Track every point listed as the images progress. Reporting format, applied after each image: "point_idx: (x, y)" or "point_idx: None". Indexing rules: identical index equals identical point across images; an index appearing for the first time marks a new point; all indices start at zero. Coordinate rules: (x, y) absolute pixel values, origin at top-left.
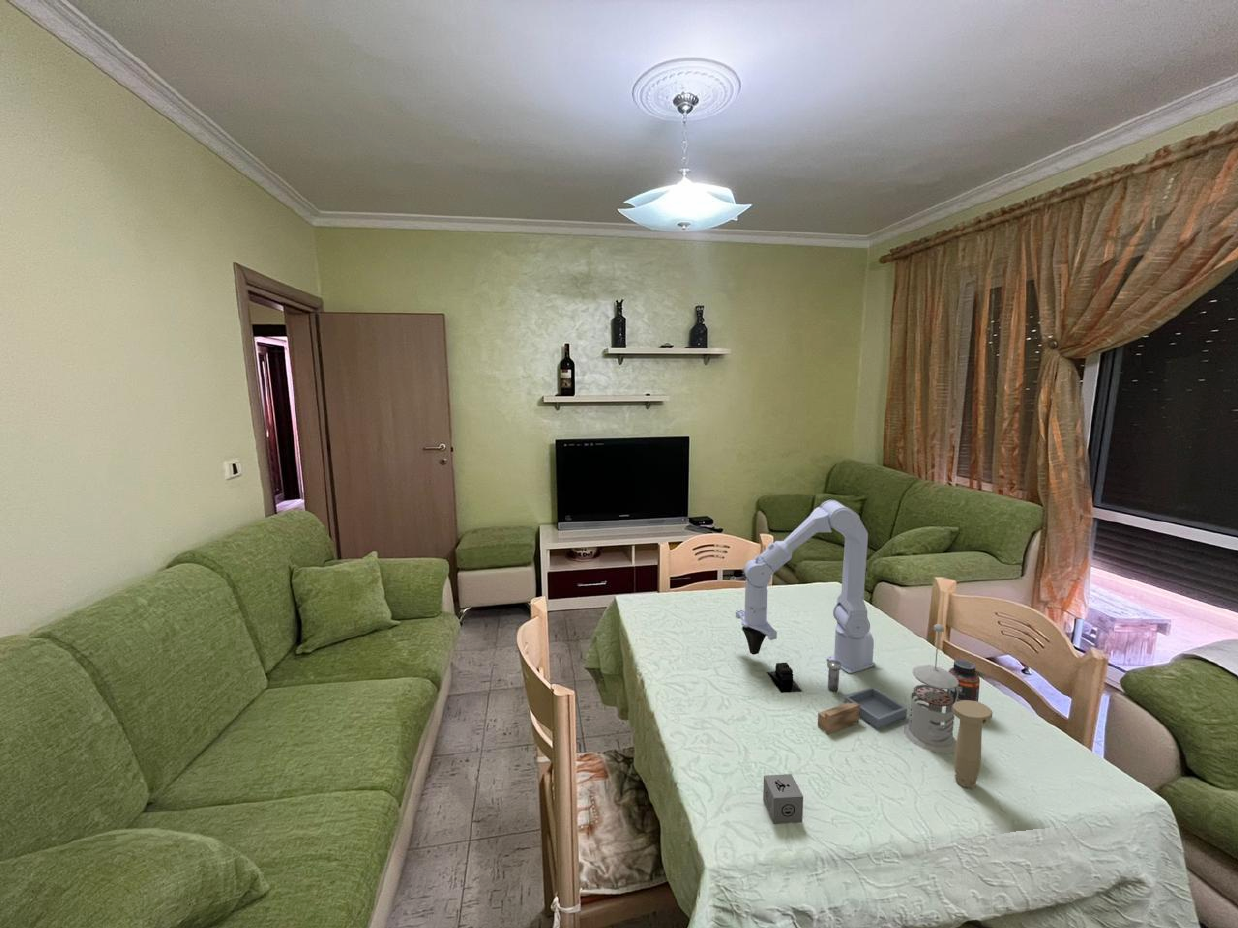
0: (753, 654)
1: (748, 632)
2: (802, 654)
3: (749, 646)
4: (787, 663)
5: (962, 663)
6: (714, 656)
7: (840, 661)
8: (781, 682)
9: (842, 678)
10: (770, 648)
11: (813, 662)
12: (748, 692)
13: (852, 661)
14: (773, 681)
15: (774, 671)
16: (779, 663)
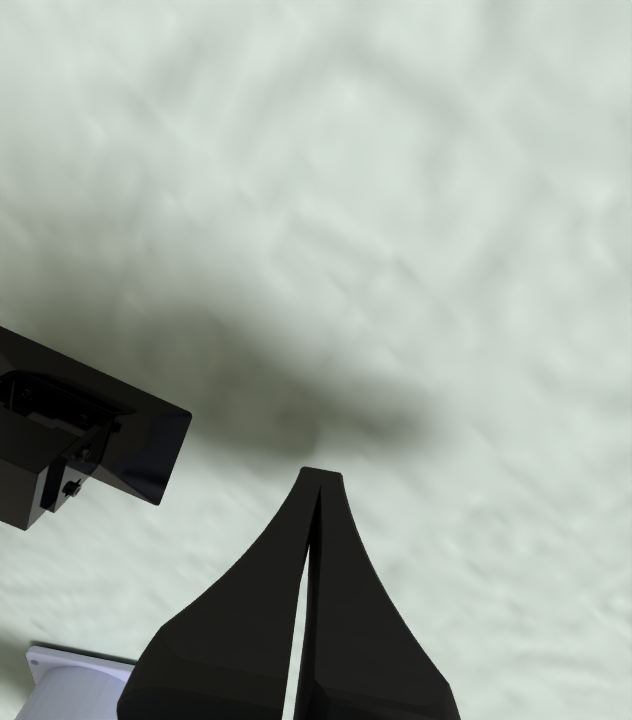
0: (301, 469)
1: (248, 678)
2: None
3: (332, 507)
4: (11, 524)
5: None
6: (580, 264)
7: (68, 687)
8: (6, 377)
9: (13, 605)
10: None
11: (160, 624)
12: (11, 98)
13: (20, 712)
14: (83, 367)
15: (173, 451)
16: (27, 488)
